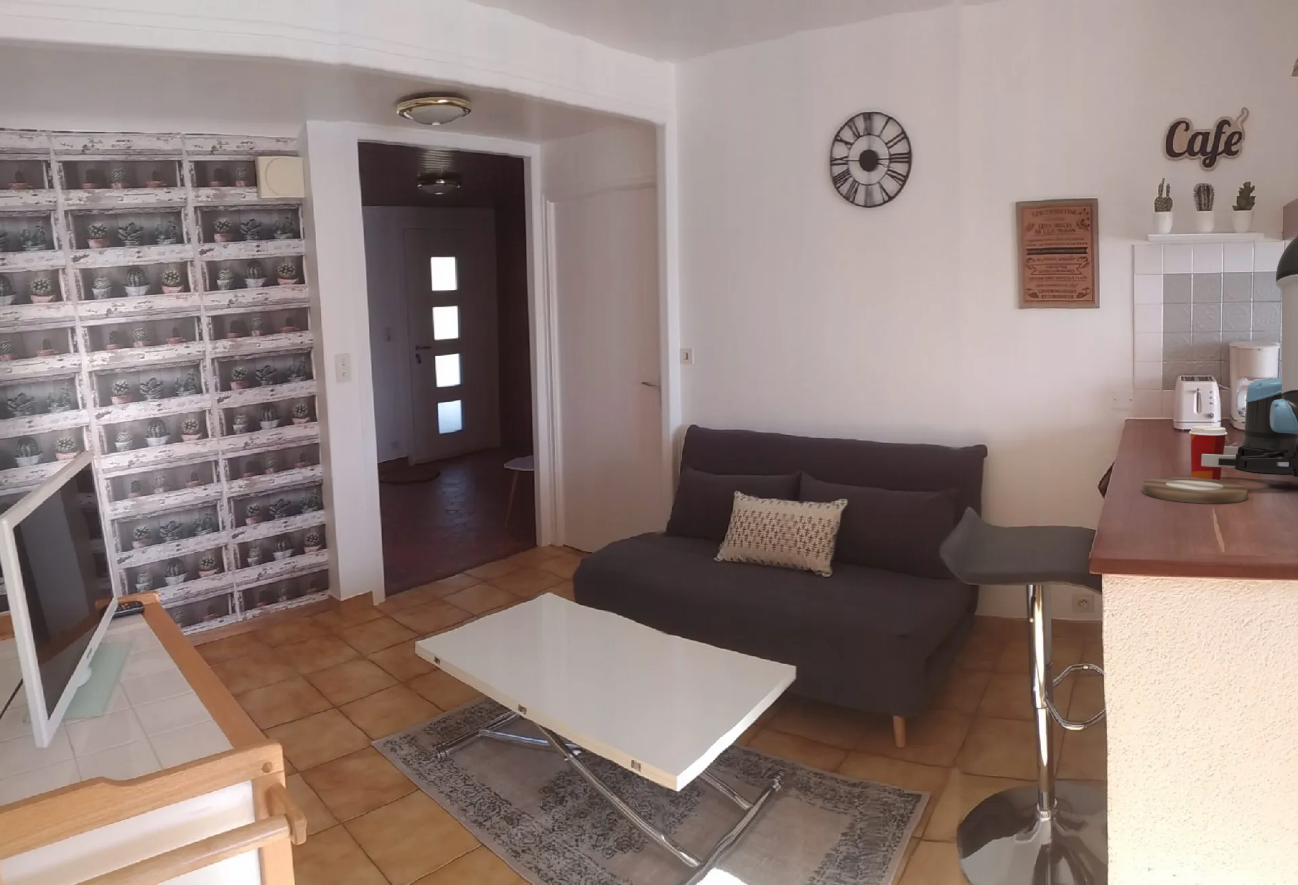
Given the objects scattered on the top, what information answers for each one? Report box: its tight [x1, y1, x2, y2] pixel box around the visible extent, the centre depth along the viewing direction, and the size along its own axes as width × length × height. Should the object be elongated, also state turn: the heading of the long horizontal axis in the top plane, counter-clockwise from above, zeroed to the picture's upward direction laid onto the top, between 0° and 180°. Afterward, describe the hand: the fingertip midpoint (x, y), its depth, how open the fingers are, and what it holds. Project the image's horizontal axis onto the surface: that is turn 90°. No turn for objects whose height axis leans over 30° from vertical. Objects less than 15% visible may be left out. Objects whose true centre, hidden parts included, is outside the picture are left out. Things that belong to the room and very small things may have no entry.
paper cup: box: [1188, 425, 1228, 480], centre depth 215 cm, size 8×8×14 cm
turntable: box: [1142, 476, 1249, 505], centre depth 203 cm, size 20×20×2 cm
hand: (1203, 455), depth 215 cm, fingers open, 13 cm apart
